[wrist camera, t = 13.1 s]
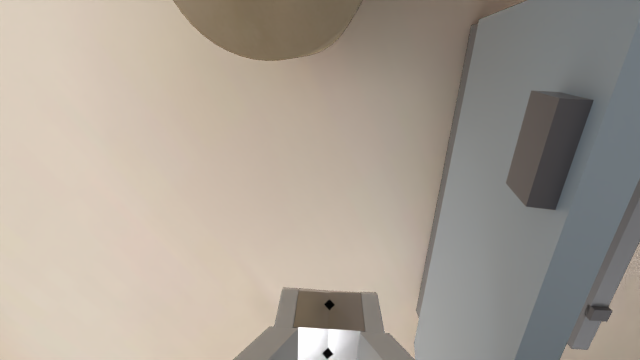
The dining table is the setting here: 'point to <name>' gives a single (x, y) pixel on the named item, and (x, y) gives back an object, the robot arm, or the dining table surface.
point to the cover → (534, 179)
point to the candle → (270, 25)
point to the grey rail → (631, 230)
